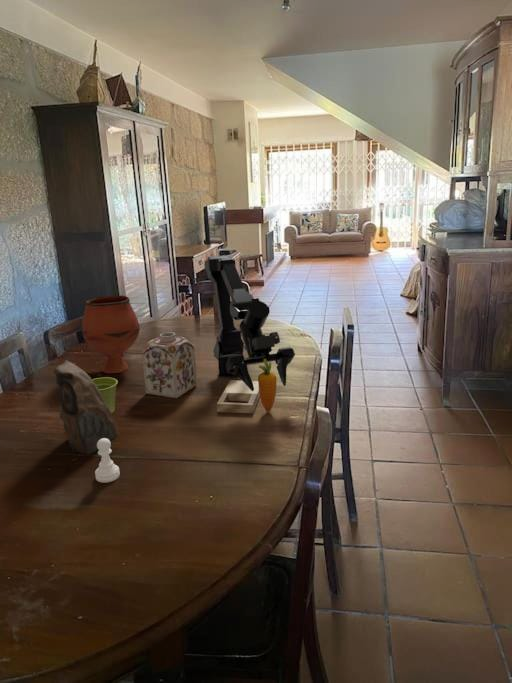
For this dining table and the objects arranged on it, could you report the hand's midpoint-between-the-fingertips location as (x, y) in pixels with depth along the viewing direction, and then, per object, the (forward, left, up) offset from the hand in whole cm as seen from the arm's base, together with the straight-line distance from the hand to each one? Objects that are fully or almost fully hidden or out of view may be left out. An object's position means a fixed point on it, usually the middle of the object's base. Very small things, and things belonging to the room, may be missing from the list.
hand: (269, 387), depth 135 cm
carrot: (-1, +1, -8) cm, 8 cm away
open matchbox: (-10, +9, -8) cm, 15 cm away
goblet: (-59, +32, -8) cm, 67 cm away
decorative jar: (-33, +15, -8) cm, 37 cm away
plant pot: (-47, -3, -8) cm, 47 cm away
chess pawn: (-31, -35, -8) cm, 47 cm away
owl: (-42, -20, -8) cm, 47 cm away
